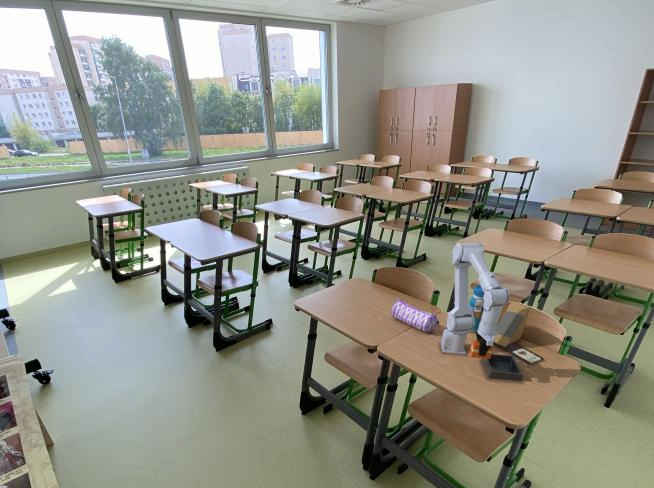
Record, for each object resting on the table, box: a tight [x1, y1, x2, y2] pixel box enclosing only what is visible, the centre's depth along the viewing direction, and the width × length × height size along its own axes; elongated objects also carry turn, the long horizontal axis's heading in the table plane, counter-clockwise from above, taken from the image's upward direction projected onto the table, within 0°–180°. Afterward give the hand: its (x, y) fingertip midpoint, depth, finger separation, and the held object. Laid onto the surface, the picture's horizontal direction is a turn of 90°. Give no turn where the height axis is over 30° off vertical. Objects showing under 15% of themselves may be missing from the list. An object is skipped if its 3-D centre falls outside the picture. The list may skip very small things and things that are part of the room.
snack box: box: [469, 340, 495, 359], centre depth 149 cm, size 7×3×5 cm, turn 82°
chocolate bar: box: [493, 341, 544, 365], centre depth 167 cm, size 9×1×18 cm
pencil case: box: [391, 297, 440, 334], centre depth 184 cm, size 22×9×10 cm, turn 42°
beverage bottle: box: [468, 285, 484, 333], centre depth 179 cm, size 8×8×20 cm
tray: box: [481, 353, 524, 382], centre depth 154 cm, size 12×14×4 cm
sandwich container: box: [494, 301, 531, 347], centre depth 172 cm, size 9×15×15 cm, turn 130°
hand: (480, 352), depth 149 cm, fingers closed on snack box, 3 cm apart
